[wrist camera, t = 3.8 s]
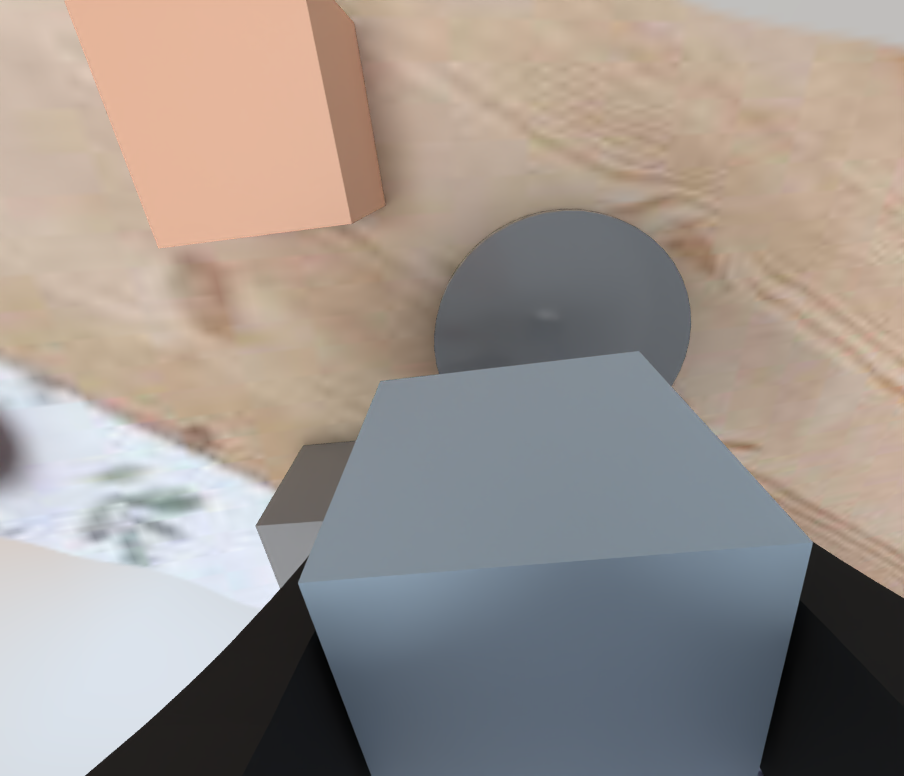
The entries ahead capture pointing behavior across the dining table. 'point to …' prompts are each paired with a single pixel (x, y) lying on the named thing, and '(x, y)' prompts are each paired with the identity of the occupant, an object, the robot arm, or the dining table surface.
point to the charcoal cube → (301, 506)
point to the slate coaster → (563, 296)
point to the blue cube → (553, 579)
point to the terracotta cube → (235, 113)
